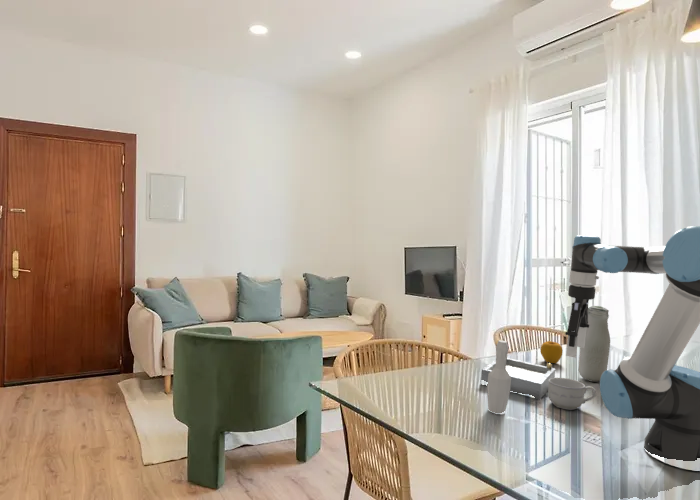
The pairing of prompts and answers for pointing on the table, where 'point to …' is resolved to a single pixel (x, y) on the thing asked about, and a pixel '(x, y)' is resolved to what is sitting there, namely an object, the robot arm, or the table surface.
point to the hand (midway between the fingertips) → (575, 351)
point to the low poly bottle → (499, 381)
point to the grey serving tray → (525, 376)
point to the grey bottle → (595, 345)
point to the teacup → (568, 393)
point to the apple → (551, 351)
